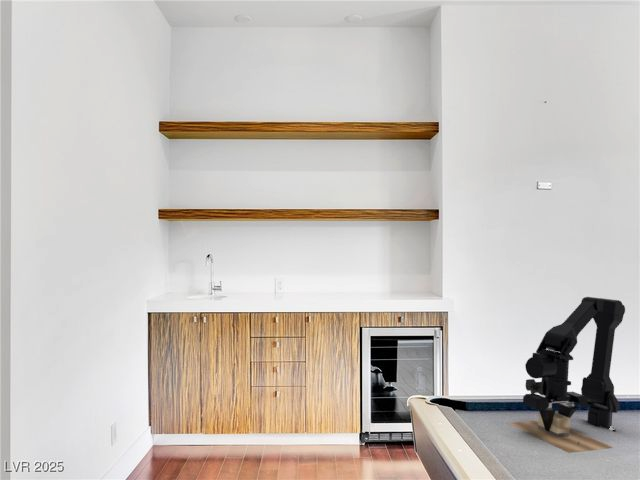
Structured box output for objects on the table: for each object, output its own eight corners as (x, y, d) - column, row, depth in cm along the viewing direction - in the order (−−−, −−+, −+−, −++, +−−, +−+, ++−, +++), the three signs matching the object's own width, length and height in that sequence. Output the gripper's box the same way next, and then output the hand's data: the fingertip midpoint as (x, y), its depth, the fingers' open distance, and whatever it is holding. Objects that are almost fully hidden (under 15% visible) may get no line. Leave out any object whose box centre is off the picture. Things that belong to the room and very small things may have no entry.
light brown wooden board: (549, 423, 156) (549, 419, 156) (613, 452, 135) (613, 447, 135) (507, 426, 150) (508, 422, 150) (568, 457, 130) (568, 452, 130)
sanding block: (549, 427, 148) (550, 410, 149) (568, 436, 142) (569, 418, 142) (537, 428, 147) (538, 411, 147) (556, 437, 140) (557, 419, 140)
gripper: (559, 367, 155) (556, 418, 155) (510, 369, 149) (507, 422, 149) (590, 377, 145) (587, 432, 145) (539, 379, 138) (536, 436, 138)
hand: (553, 430), depth 144 cm, fingers closed on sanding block, 4 cm apart
